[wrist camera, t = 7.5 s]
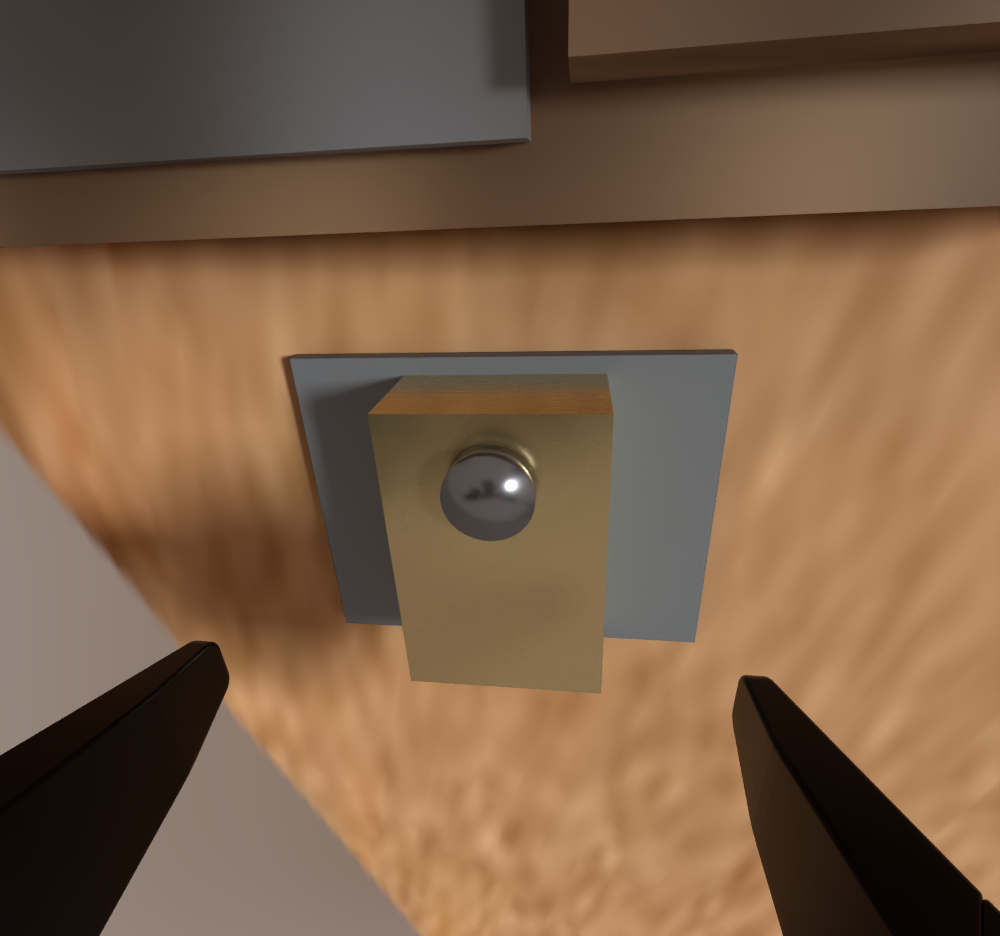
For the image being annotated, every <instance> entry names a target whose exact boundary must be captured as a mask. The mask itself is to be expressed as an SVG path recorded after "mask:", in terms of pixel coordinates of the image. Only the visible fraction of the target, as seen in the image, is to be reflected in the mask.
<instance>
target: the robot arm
mask: <svg viewBox="0 0 1000 936" xmlns="http://www.w3.org/2000/svg"><path fill="white" fill-rule="evenodd" d="M228 685H229V673H228V670H227V667H226V664H225V661H224V659H223V656H222V653H221V650H220V648H219V646H218V645H217V644H216V643H215V642H208V641H193V642H190V643H188V644H186V645H185V646H183V647H181V648H180V649H178V650H176V651H175V652H173V653H171V654H170V655H168V656H166V657H165V658H163V659H161V660H160V661H158V662H156V663H154V664H153V665H151V666H150V667H148V668H146V669H144V670H143V671H141V672H139V673H138V674H136V675H134V676H133V677H131V678H130V679H128V680H126V681H124V682H123V683H121V684H119V685H118V686H116V687H115V688H113V689H111V690H109V691H108V692H106V693H104V694H103V695H101V696H99V697H98V698H96V699H94V700H93V701H91V702H89V703H87V704H86V705H84V706H82V707H81V708H79V709H77V710H76V711H74V712H72V713H71V714H69V715H67V716H66V717H64V718H62V719H61V720H59V721H58V722H56V723H54V724H52V725H51V726H49V727H47V728H46V729H44V730H42V731H40V732H39V733H37V734H35V735H34V736H32V737H31V738H29V739H27V740H25V741H24V742H22V743H20V744H19V745H17V746H16V747H14V748H12V749H10V750H9V751H7V752H5V753H4V754H2V755H0V936H100V934H101V932H102V930H103V928H104V926H105V925H106V923H107V921H108V919H109V917H110V916H111V914H112V912H113V910H114V909H115V907H116V905H117V903H118V901H119V900H120V898H121V896H122V894H123V892H124V890H125V889H126V887H127V885H128V883H129V882H130V880H131V878H132V876H133V874H134V873H135V871H136V869H137V867H138V865H139V863H140V861H141V860H142V858H143V856H144V855H145V853H146V851H147V849H148V847H149V846H150V844H151V842H152V840H153V838H154V836H155V835H156V833H157V831H158V829H159V828H160V826H161V824H162V822H163V820H164V819H165V817H166V815H167V813H168V811H169V809H170V808H171V806H172V804H173V802H174V801H175V799H176V797H177V795H178V794H179V791H180V790H181V788H182V786H183V784H184V782H185V781H186V779H187V777H188V775H189V773H190V771H191V769H192V767H193V764H194V762H195V761H196V758H197V756H198V754H199V752H200V749H201V747H202V745H203V743H204V740H205V738H206V736H207V734H208V731H209V729H210V727H211V725H212V722H213V720H214V718H215V716H216V713H217V711H218V709H219V707H220V704H221V702H222V700H223V698H224V695H225V693H226V691H227V688H228ZM732 719H733V728H734V734H735V739H736V745H737V750H738V756H739V761H740V767H741V772H742V778H743V783H744V789H745V794H746V800H747V805H748V810H749V815H750V820H751V825H752V830H753V833H754V837H755V841H756V845H757V848H758V851H759V855H760V858H761V862H762V865H763V869H764V872H765V875H766V879H767V882H768V886H769V889H770V892H771V896H772V899H773V903H774V906H775V910H776V913H777V916H778V920H779V923H780V927H781V930H782V934H783V936H1000V911H999V910H998V909H997V908H996V907H995V906H994V905H993V904H992V903H991V902H990V901H988V900H982V894H981V892H980V891H979V890H978V889H977V888H976V887H975V886H974V885H973V884H972V883H971V882H970V881H969V880H968V879H967V878H966V877H965V876H964V875H963V874H962V873H961V872H960V871H959V870H958V869H957V868H956V867H955V866H954V865H953V864H952V863H951V862H950V861H949V860H948V859H947V858H946V857H945V856H944V855H943V854H942V853H941V852H940V851H939V850H938V849H937V847H936V846H935V845H934V844H933V843H932V842H931V841H930V840H929V839H928V838H927V837H926V836H925V835H924V834H923V833H922V832H921V831H920V830H919V829H918V828H917V827H916V826H915V825H914V824H913V823H912V822H911V821H910V820H909V819H908V818H907V817H906V816H905V815H904V814H903V813H902V812H901V811H900V810H899V809H898V808H897V807H896V806H895V805H894V804H893V803H892V802H891V801H890V800H889V799H888V798H887V797H886V796H885V795H884V794H883V792H882V791H881V790H880V789H879V788H878V787H877V786H876V785H875V784H874V783H873V782H872V781H871V780H870V779H869V778H868V777H867V776H866V775H865V774H864V773H863V772H862V771H861V770H860V769H859V768H858V767H857V766H856V765H855V764H854V763H853V762H852V761H851V760H850V759H849V758H848V757H847V756H846V755H845V754H844V753H843V752H842V751H841V750H840V749H839V748H838V747H837V746H836V745H835V744H834V743H833V742H832V741H831V740H830V739H829V737H828V736H827V735H826V734H825V733H824V732H823V731H822V730H821V729H820V728H819V727H818V726H817V725H816V724H815V723H814V722H813V721H812V720H811V719H810V718H809V717H808V716H807V715H806V714H805V713H804V712H803V711H802V710H801V709H800V708H799V707H798V706H797V705H796V704H795V703H794V702H793V701H792V700H791V699H790V698H789V697H788V696H787V695H786V694H785V693H784V692H783V691H782V690H781V689H780V688H779V687H778V686H777V685H776V684H775V683H774V681H772V680H771V679H770V678H768V677H765V676H751V675H744V676H742V677H741V678H740V680H739V682H738V687H737V692H736V697H735V702H734V707H733V714H732Z"/></svg>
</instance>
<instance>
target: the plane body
mask: <svg viewBox="0 0 1000 936" xmlns="http://www.w3.org/2000/svg"><path fill="white" fill-rule="evenodd" d="M987 206H1000V0H0V248H3V247H27V246H51V245H75V244H99V243H123V242H147V241H171V240H195V239H219V238H243V237H267V236H291V235H315V234H339V233H363V232H387V231H411V230H435V229H459V228H483V227H507V226H531V225H555V224H579V223H603V222H627V221H651V220H675V219H699V218H723V217H747V216H771V215H795V214H819V213H843V212H867V211H891V210H915V209H939V208H963V207H987Z"/></svg>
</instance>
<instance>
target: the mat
mask: <svg viewBox="0 0 1000 936" xmlns="http://www.w3.org/2000/svg"><path fill="white" fill-rule="evenodd" d="M737 355H738V354H737V353H736V352H735V351H734V350H646V351H557V352H468V353H379V354H297V355H295V356H294V357H292V358H290V363H291V368H292V373H293V377H294V382H295V386H296V391H297V396H298V400H299V405H300V410H301V414H302V419H303V423H304V428H305V433H306V437H307V442H308V446H309V451H310V456H311V460H312V465H313V469H314V474H315V479H316V483H317V488H318V492H319V497H320V502H321V506H322V511H323V516H324V520H325V525H326V529H327V534H328V539H329V543H330V548H331V552H332V557H333V562H334V566H335V571H336V575H337V580H338V585H339V589H340V594H341V599H342V603H343V608H344V612H345V617H346V622H347V623H362V624H380V625H398V626H402V620H401V614H400V608H399V602H398V596H397V590H396V584H395V578H394V572H393V566H392V560H391V554H390V548H389V542H388V535H387V529H386V523H385V517H384V511H383V505H382V499H381V493H380V487H379V481H378V475H377V469H376V463H375V457H374V450H373V444H372V438H371V432H370V426H369V420H368V413H369V412H370V411H371V410H372V409H373V408H374V407H375V406H376V405H377V404H378V403H379V402H380V400H381V399H382V398H383V397H384V396H385V395H386V394H387V393H388V392H389V391H390V390H391V389H392V388H393V387H394V386H395V385H396V384H397V383H398V382H399V381H400V379H401V378H402V377H403V376H404V375H498V374H597V373H607V376H608V382H609V388H610V394H611V400H612V406H613V412H614V421H613V442H612V464H611V485H610V507H609V528H608V550H607V571H606V593H605V615H604V636H603V637H610V638H627V639H645V640H663V641H680V642H695V636H696V629H697V622H698V616H699V609H700V602H701V596H702V589H703V582H704V576H705V569H706V562H707V556H708V549H709V542H710V536H711V529H712V522H713V516H714V509H715V502H716V496H717V489H718V482H719V476H720V469H721V462H722V456H723V449H724V442H725V436H726V429H727V422H728V416H729V409H730V402H731V395H732V389H733V382H734V375H735V369H736V362H737Z"/></svg>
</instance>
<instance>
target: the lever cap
mask: <svg viewBox="0 0 1000 936" xmlns="http://www.w3.org/2000/svg"><path fill="white" fill-rule="evenodd" d="M368 420H369V426H370V432H371V438H372V444H373V450H374V457H375V463H376V469H377V475H378V481H379V487H380V493H381V499H382V505H383V511H384V517H385V523H386V529H387V535H388V542H389V548H390V554H391V560H392V566H393V572H394V578H395V584H396V590H397V596H398V602H399V608H400V614H401V620H402V626H403V633H404V639H405V645H406V651H407V657H408V663H409V669H410V675H411V681H423V682H438V683H453V684H468V685H483V686H498V687H513V688H528V689H543V690H558V691H573V692H588V693H601V679H602V658H603V636H604V615H605V593H606V571H607V550H608V528H609V507H610V485H611V464H612V442H613V421H614V412H613V406H612V400H611V394H610V388H609V382H608V376H607V373H597V374H498V375H404V376H403V377H402V378H401V379H400V381H399V382H398V383H397V384H396V385H395V386H394V387H393V388H392V389H391V390H390V391H389V392H388V393H387V394H386V395H385V396H384V397H383V398H382V399H381V400H380V402H379V403H378V404H377V405H376V406H375V407H374V408H373V409H372V410H371V411H370V412H369V413H368Z"/></svg>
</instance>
